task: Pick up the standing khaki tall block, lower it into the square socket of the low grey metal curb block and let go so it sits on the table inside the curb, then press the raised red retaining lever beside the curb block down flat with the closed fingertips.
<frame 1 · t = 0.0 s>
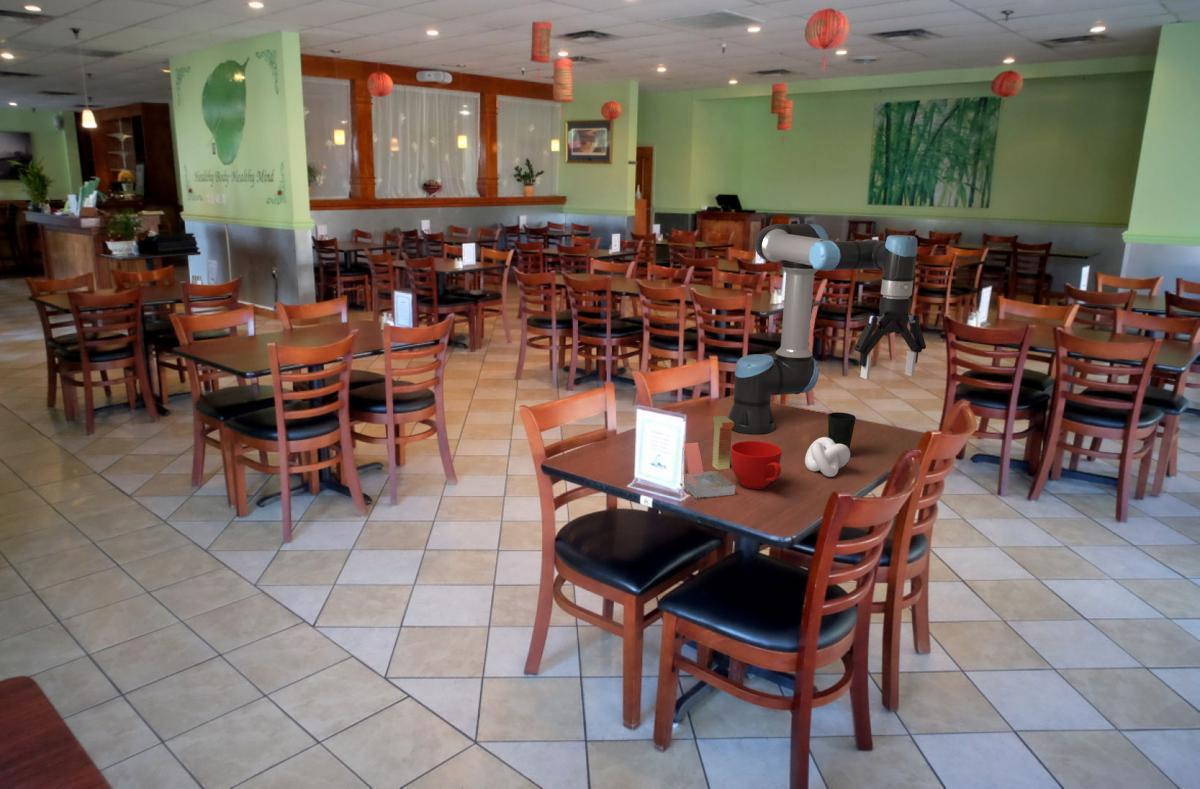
hand: (887, 376, 214), 28 cm above the table, fingers open, 13 cm apart
ceramic cup: (758, 487, 212), on the table
retaining lever: (693, 461, 218), point 4 cm above the table, hinge at 55.0°
cup: (838, 455, 238), on the table
white knot: (824, 473, 223), on the table
socket block: (706, 488, 210), on the table
khaki tall block: (720, 467, 226), on the table
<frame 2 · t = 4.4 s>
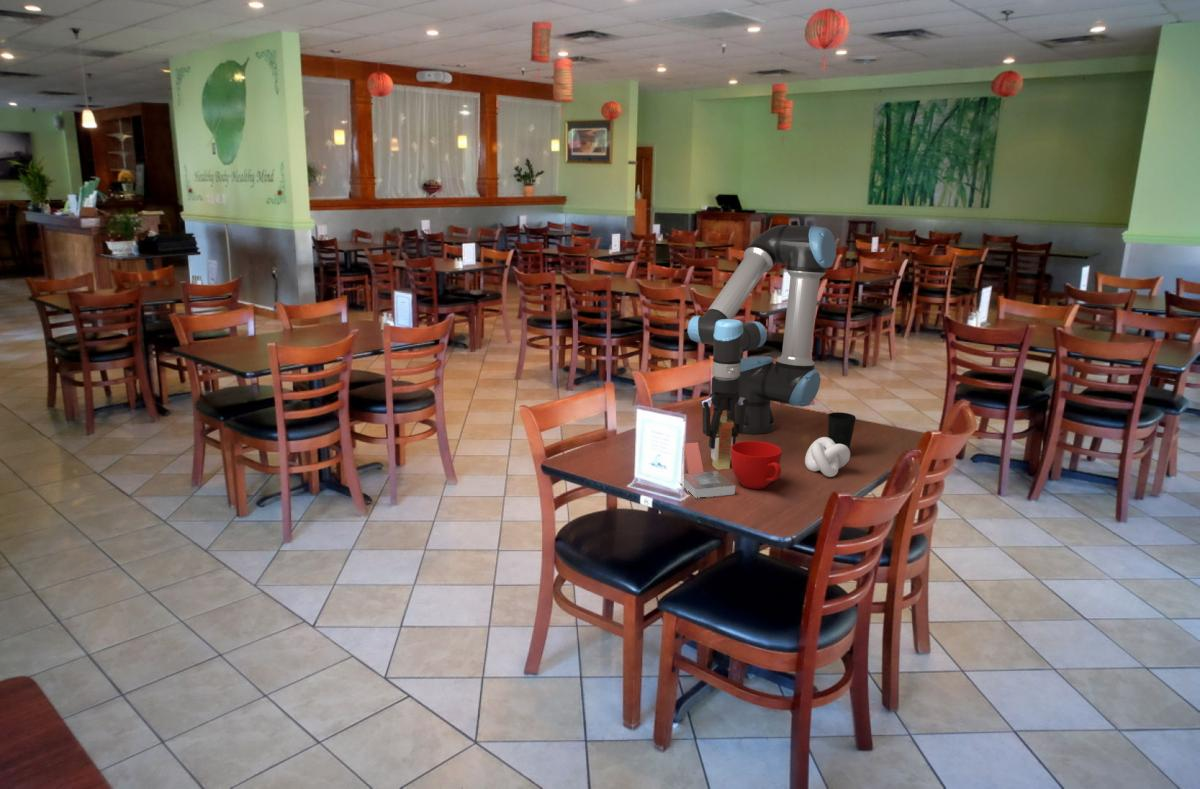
hand: (721, 458, 226), 3 cm above the table, fingers closed on khaki tall block, 4 cm apart
khaki tall block: (720, 467, 226), on the table, touching gripper
everything else where it was.
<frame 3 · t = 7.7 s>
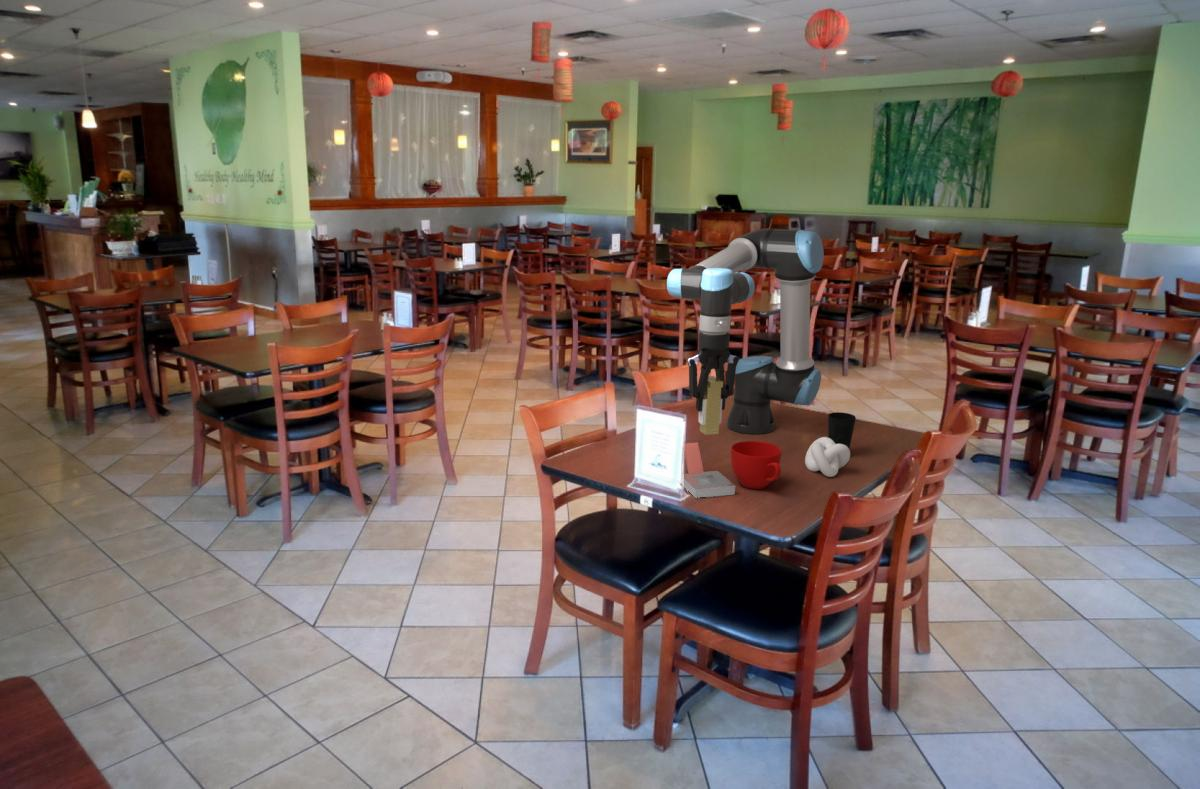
hand: (709, 422, 206), 18 cm above the table, fingers closed on khaki tall block, 4 cm apart
khaki tall block: (709, 432, 206), point 15 cm above the table, touching gripper
everything else where it was.
when the fingers open (4 cm above the table, at t = 10.9 s): khaki tall block drops 2 cm, resting in socket block.
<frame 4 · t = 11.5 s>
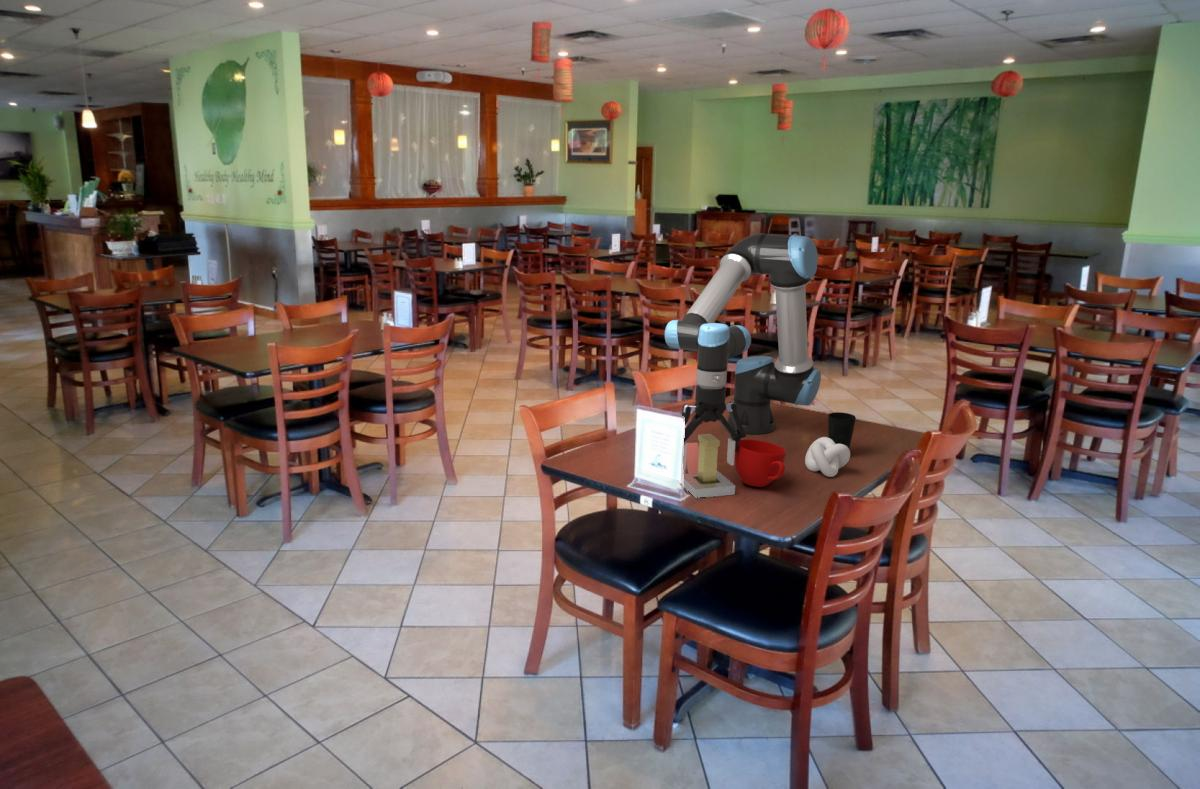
hand: (706, 465, 209), 6 cm above the table, fingers open, 13 cm apart
ceramic cup: (758, 486, 212), on the table, touching gripper
khaki tall block: (706, 488, 210), resting in socket block
everything else where it was.
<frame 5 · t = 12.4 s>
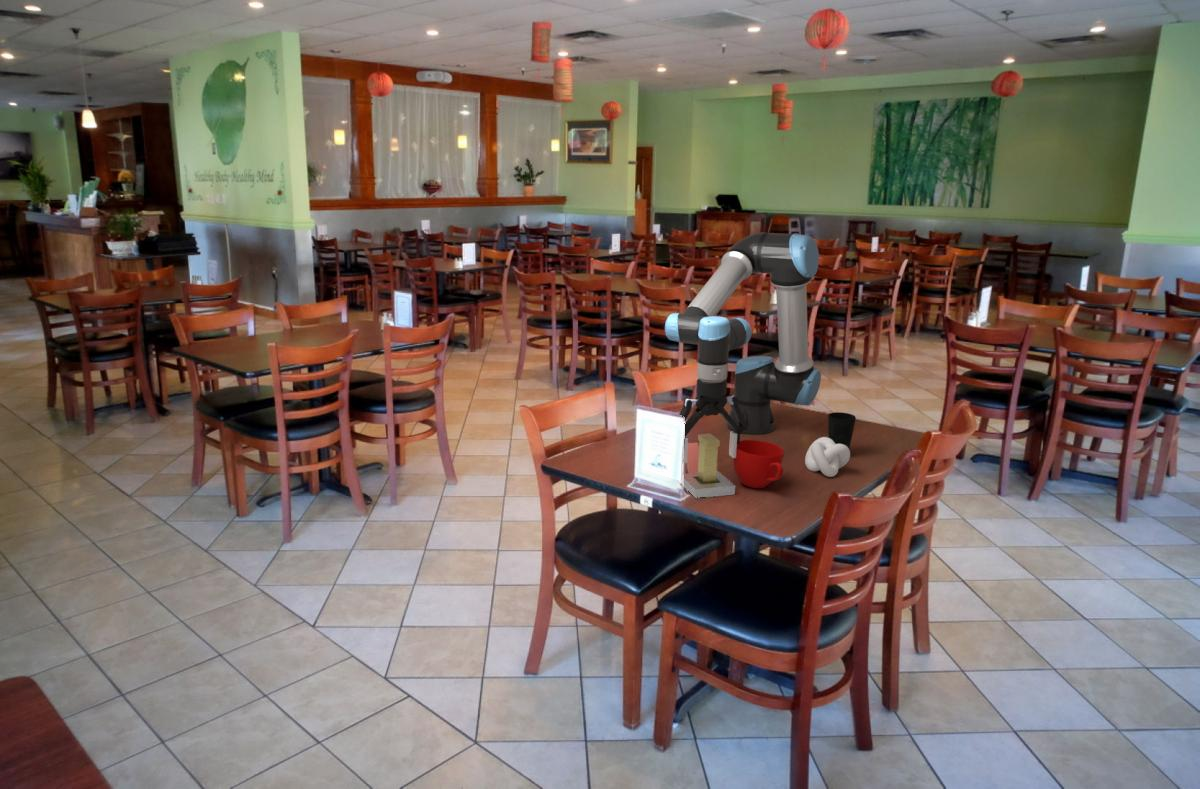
hand: (708, 458, 209), 8 cm above the table, fingers open, 13 cm apart
ceramic cup: (758, 487, 212), on the table
everything else where it was.
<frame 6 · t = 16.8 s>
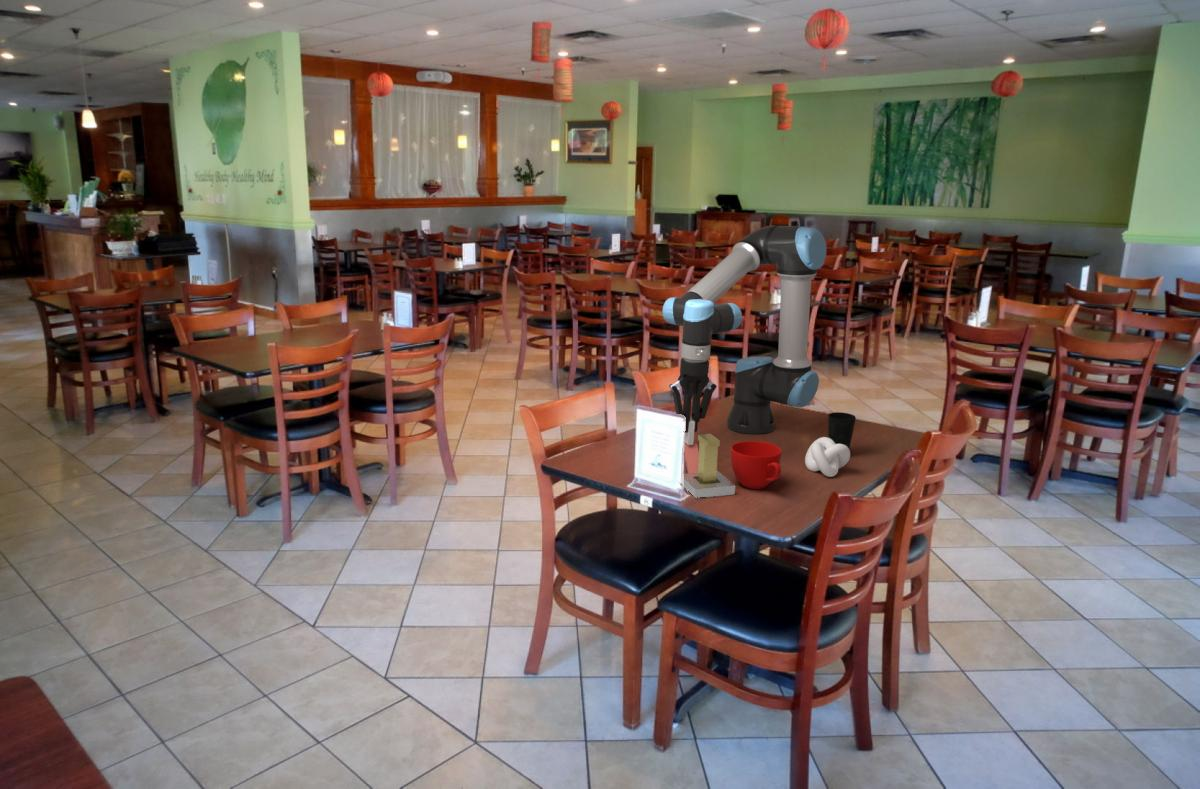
hand: (688, 443, 220), 8 cm above the table, fingers closed
retaining lever: (693, 461, 218), point 4 cm above the table, hinge at 49.0°, touching gripper
everything else where it was.
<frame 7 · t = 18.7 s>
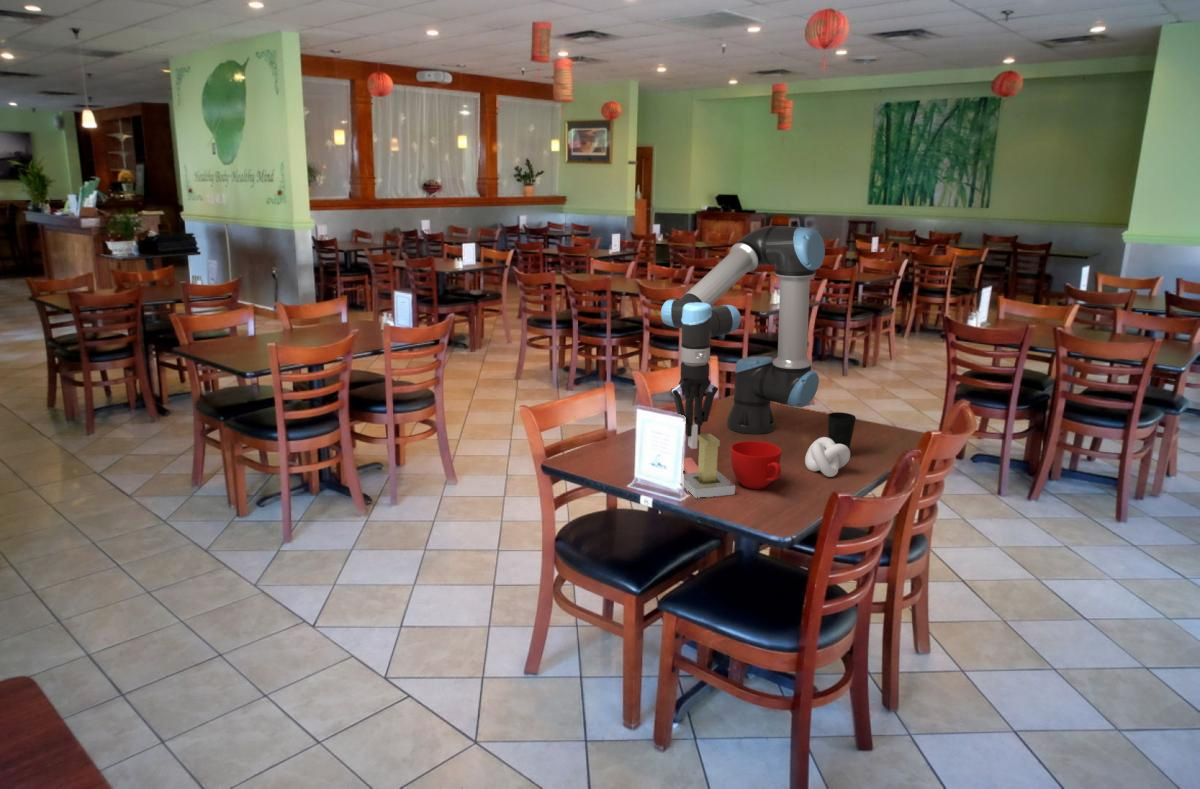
hand: (692, 446, 219), 8 cm above the table, fingers closed
retaining lever: (690, 468, 220), point 2 cm above the table, hinge at 10.1°
everything else where it was.
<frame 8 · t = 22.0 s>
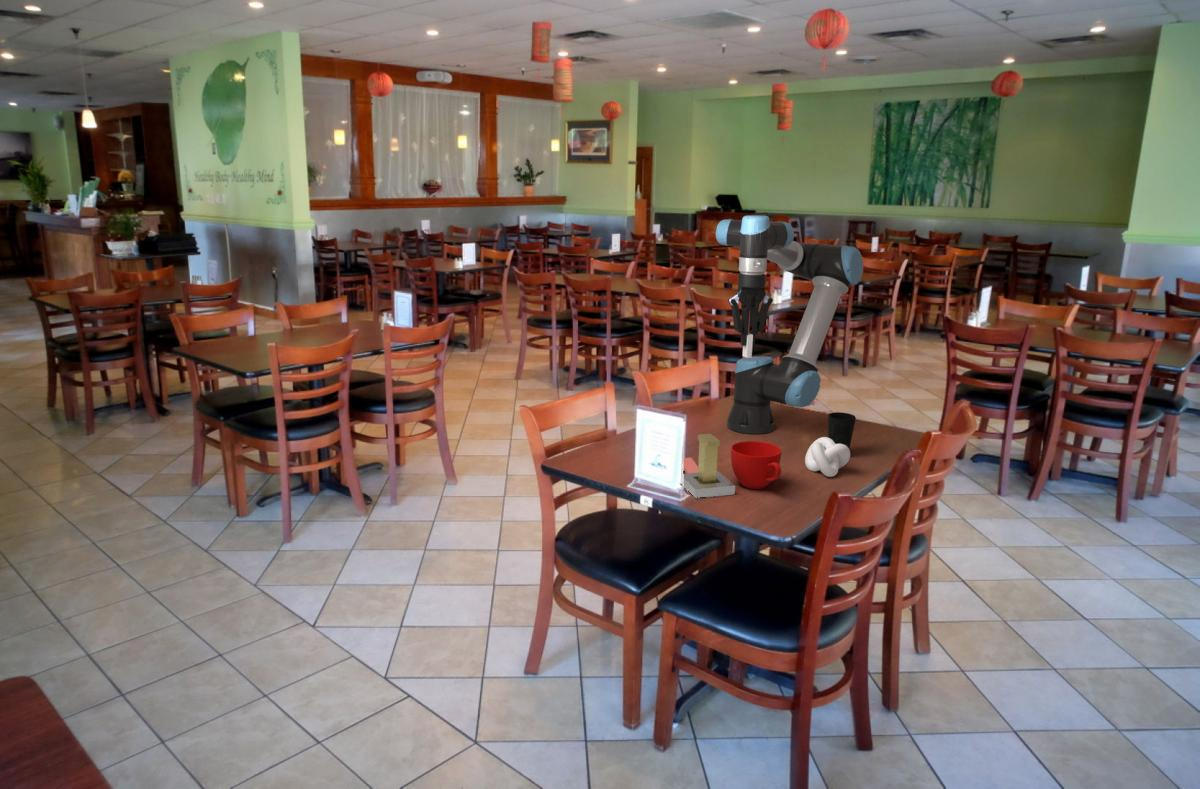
hand: (747, 356, 229), 29 cm above the table, fingers closed
nothing on the table moved.
at the end: khaki tall block 0.0 cm off-centre on the socket block, point 0.0 cm above the socket block's base; khaki tall block tilted 0°; retaining lever at +10° (first picture: +55°) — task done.
